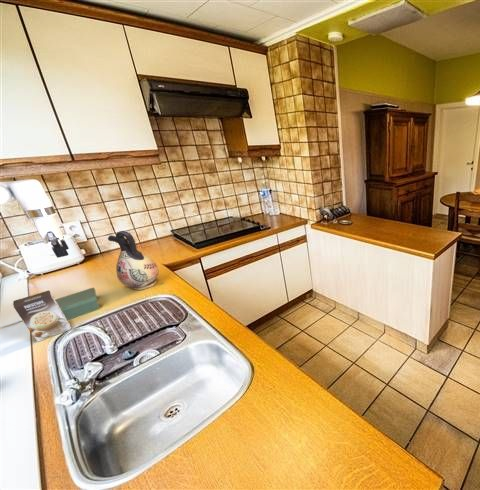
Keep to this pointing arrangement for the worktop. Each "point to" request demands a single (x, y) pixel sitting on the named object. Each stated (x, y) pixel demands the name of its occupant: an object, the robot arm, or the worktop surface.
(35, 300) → the coffee box
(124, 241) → the ceramic jug
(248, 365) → the worktop surface
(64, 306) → the green block
